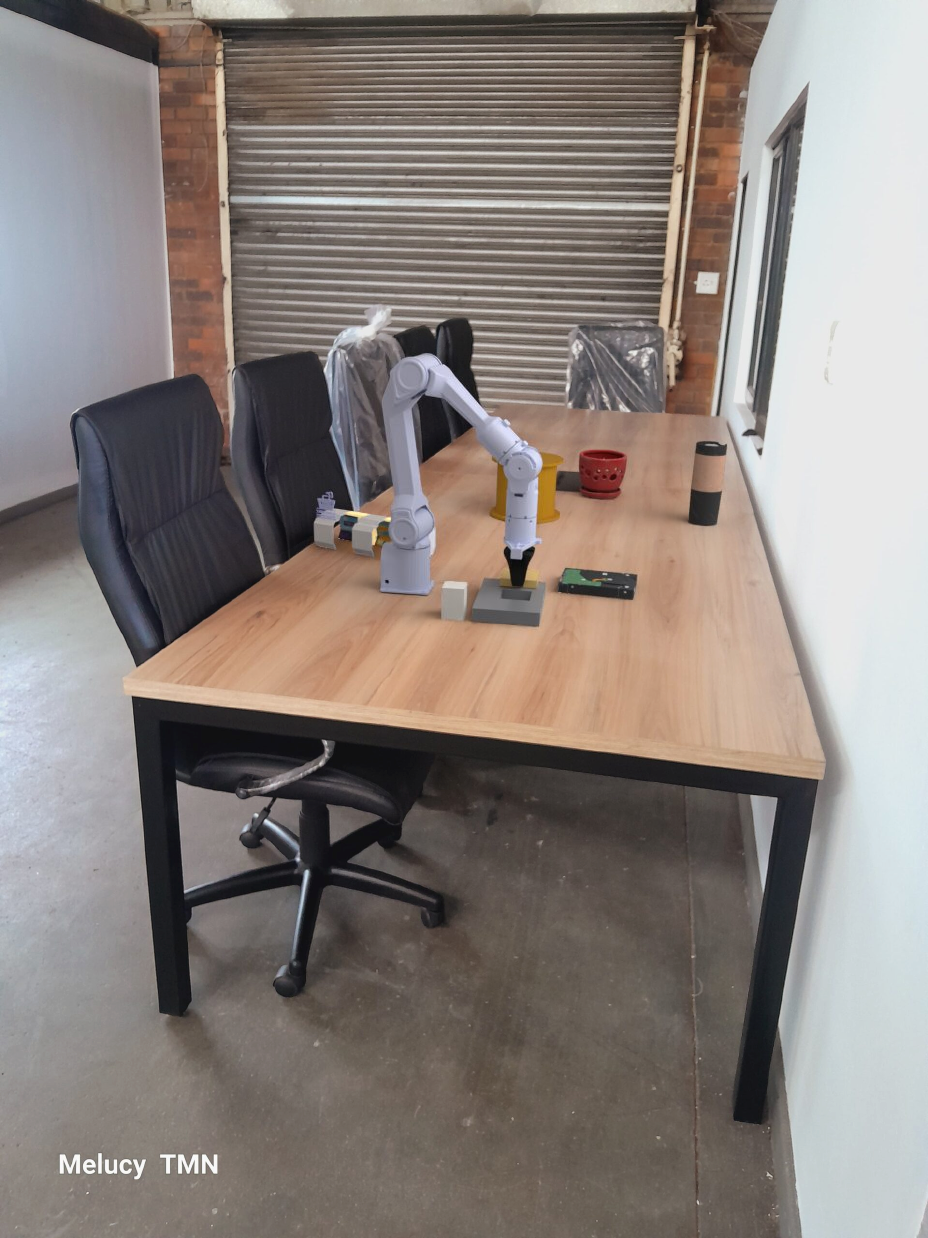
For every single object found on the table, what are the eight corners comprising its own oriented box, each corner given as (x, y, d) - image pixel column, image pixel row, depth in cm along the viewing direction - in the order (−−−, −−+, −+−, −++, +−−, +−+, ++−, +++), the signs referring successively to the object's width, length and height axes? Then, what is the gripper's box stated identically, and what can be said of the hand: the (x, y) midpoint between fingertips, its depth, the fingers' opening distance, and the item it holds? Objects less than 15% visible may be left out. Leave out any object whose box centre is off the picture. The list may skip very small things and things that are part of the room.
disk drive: (636, 587, 193) (563, 579, 196) (637, 573, 192) (564, 566, 195) (633, 603, 184) (556, 595, 186) (634, 589, 183) (557, 581, 185)
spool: (562, 524, 236) (566, 464, 231) (489, 522, 237) (492, 462, 231) (557, 507, 253) (560, 451, 248) (489, 505, 253) (491, 449, 248)
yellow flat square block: (499, 585, 181) (499, 578, 180) (503, 574, 188) (503, 567, 187) (536, 588, 180) (536, 580, 180) (539, 577, 187) (539, 569, 186)
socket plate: (471, 621, 170) (472, 608, 169) (483, 589, 187) (484, 577, 186) (539, 626, 168) (539, 613, 167) (545, 594, 185) (545, 582, 184)
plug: (441, 619, 170) (441, 587, 168) (444, 612, 174) (445, 580, 172) (463, 621, 170) (464, 589, 168) (466, 613, 174) (467, 582, 172)
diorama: (314, 549, 211) (312, 490, 207) (340, 538, 220) (339, 482, 215) (411, 566, 201) (412, 505, 196) (435, 555, 209) (436, 496, 205)
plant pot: (567, 492, 271) (570, 450, 266) (607, 489, 276) (610, 447, 272) (592, 502, 259) (595, 458, 255) (632, 499, 265) (636, 456, 261)
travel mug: (686, 524, 239) (695, 444, 233) (687, 517, 246) (696, 439, 240) (718, 527, 238) (727, 447, 231) (718, 520, 245) (727, 441, 238)
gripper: (540, 526, 168) (536, 599, 172) (545, 507, 181) (541, 575, 186) (500, 523, 168) (497, 596, 173) (508, 504, 182) (505, 572, 187)
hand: (517, 585), depth 180 cm, fingers closed
